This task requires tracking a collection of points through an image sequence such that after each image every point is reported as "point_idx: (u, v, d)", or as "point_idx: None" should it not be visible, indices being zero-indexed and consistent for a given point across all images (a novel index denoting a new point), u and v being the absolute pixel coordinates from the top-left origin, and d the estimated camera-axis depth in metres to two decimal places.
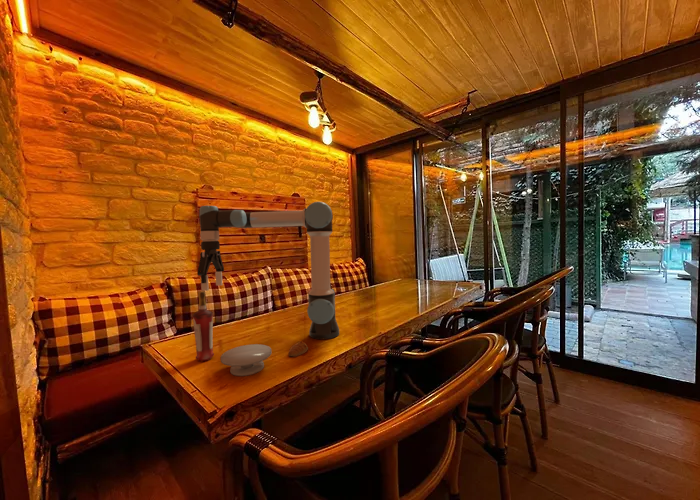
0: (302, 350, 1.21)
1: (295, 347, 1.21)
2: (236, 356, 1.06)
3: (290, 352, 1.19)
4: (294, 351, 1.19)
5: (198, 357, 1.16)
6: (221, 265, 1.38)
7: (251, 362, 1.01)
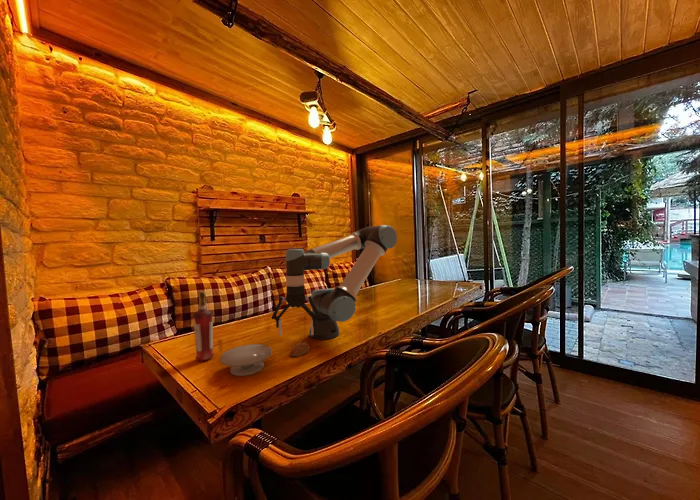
0: (304, 350, 1.21)
1: (297, 347, 1.21)
2: (236, 356, 1.06)
3: (292, 352, 1.19)
4: (296, 351, 1.19)
5: (198, 357, 1.16)
6: (314, 313, 1.22)
7: (251, 362, 1.01)
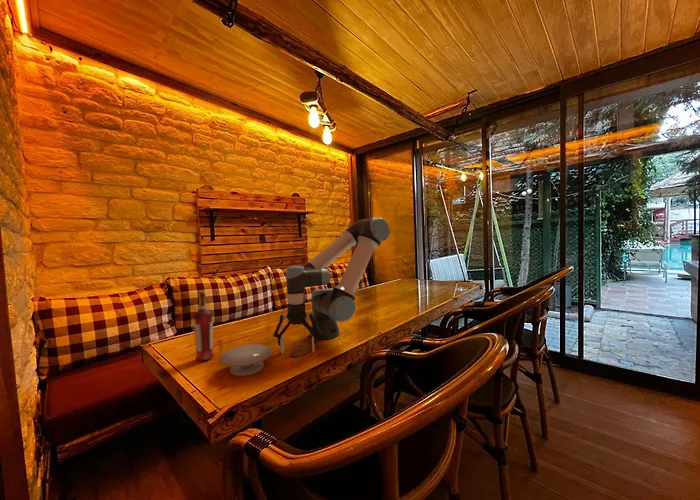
0: (305, 350, 1.21)
1: (298, 347, 1.21)
2: (236, 356, 1.06)
3: (293, 352, 1.19)
4: (297, 351, 1.19)
5: (198, 357, 1.16)
6: (315, 330, 1.22)
7: (251, 362, 1.01)
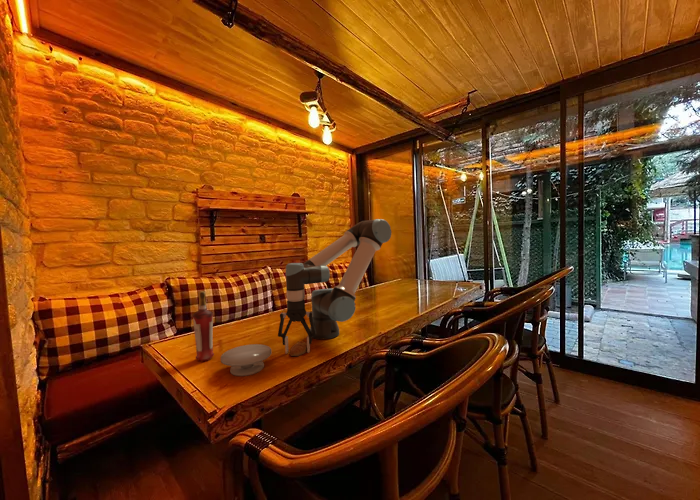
0: (303, 349, 1.21)
1: (297, 346, 1.21)
2: (236, 356, 1.06)
3: (292, 352, 1.19)
4: (296, 351, 1.19)
5: (198, 357, 1.16)
6: (311, 329, 1.22)
7: (251, 362, 1.01)
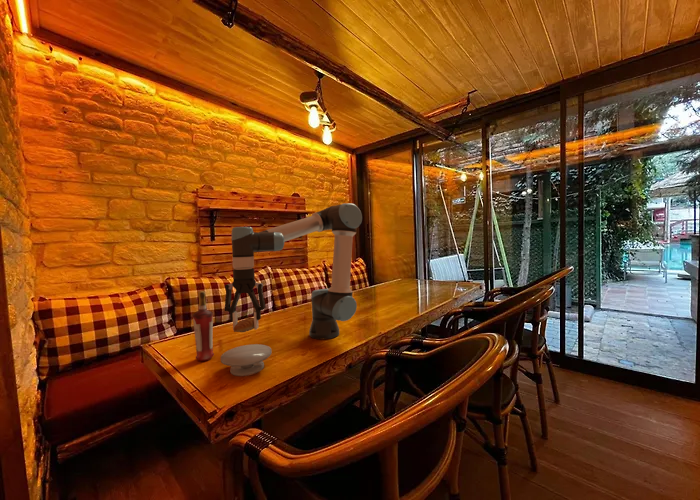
0: (250, 325, 1.07)
1: (242, 322, 1.06)
2: (236, 356, 1.06)
3: (235, 327, 1.04)
4: (240, 326, 1.04)
5: (198, 357, 1.16)
6: None
7: (251, 362, 1.01)
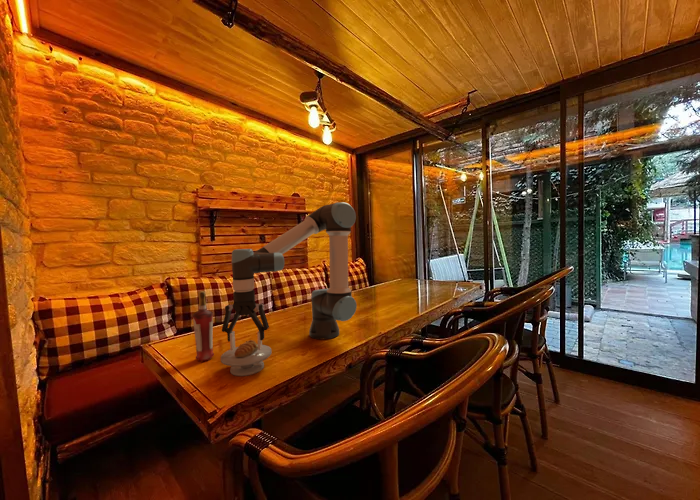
0: (251, 349, 1.07)
1: (243, 346, 1.07)
2: None
3: (236, 352, 1.04)
4: (241, 351, 1.04)
5: (198, 357, 1.16)
6: (262, 323, 1.08)
7: (251, 362, 1.01)
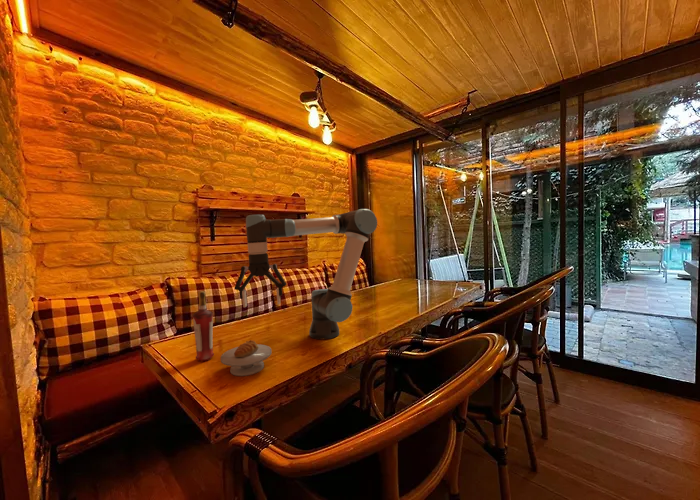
0: (251, 350, 1.07)
1: (243, 346, 1.07)
2: None
3: (236, 352, 1.04)
4: (241, 351, 1.04)
5: (198, 357, 1.16)
6: (280, 281, 1.17)
7: (251, 362, 1.01)
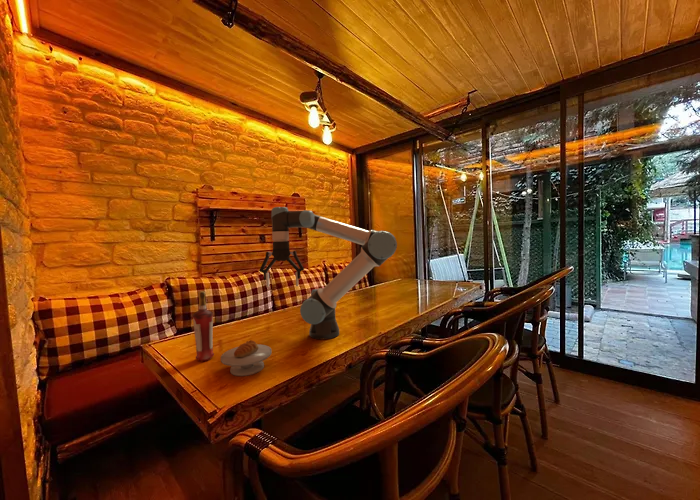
0: (250, 350, 1.07)
1: (242, 347, 1.07)
2: None
3: (236, 352, 1.04)
4: (240, 351, 1.04)
5: (198, 357, 1.16)
6: (299, 266, 1.33)
7: (251, 362, 1.01)
